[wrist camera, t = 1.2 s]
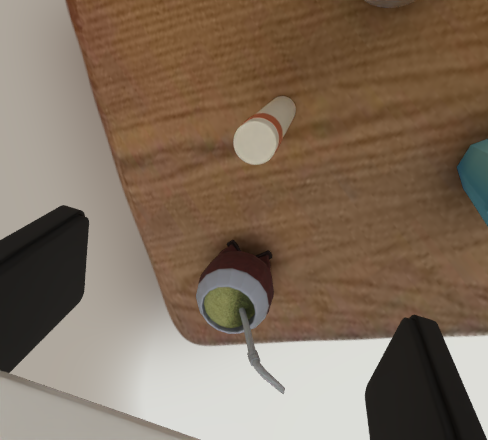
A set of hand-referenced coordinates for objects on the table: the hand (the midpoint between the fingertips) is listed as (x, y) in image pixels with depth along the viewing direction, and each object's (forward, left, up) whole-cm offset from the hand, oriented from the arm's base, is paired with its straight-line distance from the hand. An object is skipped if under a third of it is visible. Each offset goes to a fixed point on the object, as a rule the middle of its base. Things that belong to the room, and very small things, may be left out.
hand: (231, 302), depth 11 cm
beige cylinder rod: (+2, -2, -26) cm, 26 cm away
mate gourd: (+1, +14, -26) cm, 29 cm away
